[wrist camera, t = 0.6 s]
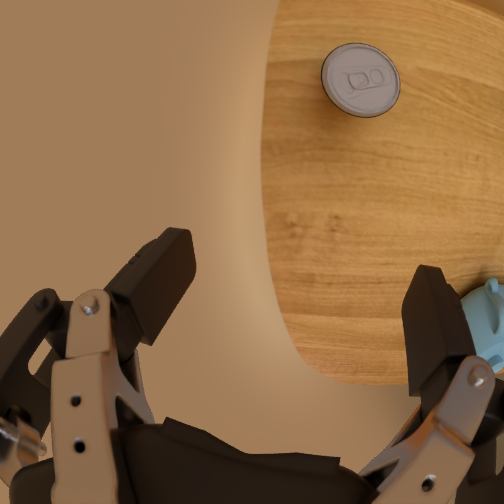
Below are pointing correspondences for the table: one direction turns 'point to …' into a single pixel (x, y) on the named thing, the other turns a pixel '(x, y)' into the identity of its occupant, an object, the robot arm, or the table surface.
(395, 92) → the beverage can
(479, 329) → the teapot
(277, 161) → the table surface
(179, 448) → the robot arm
